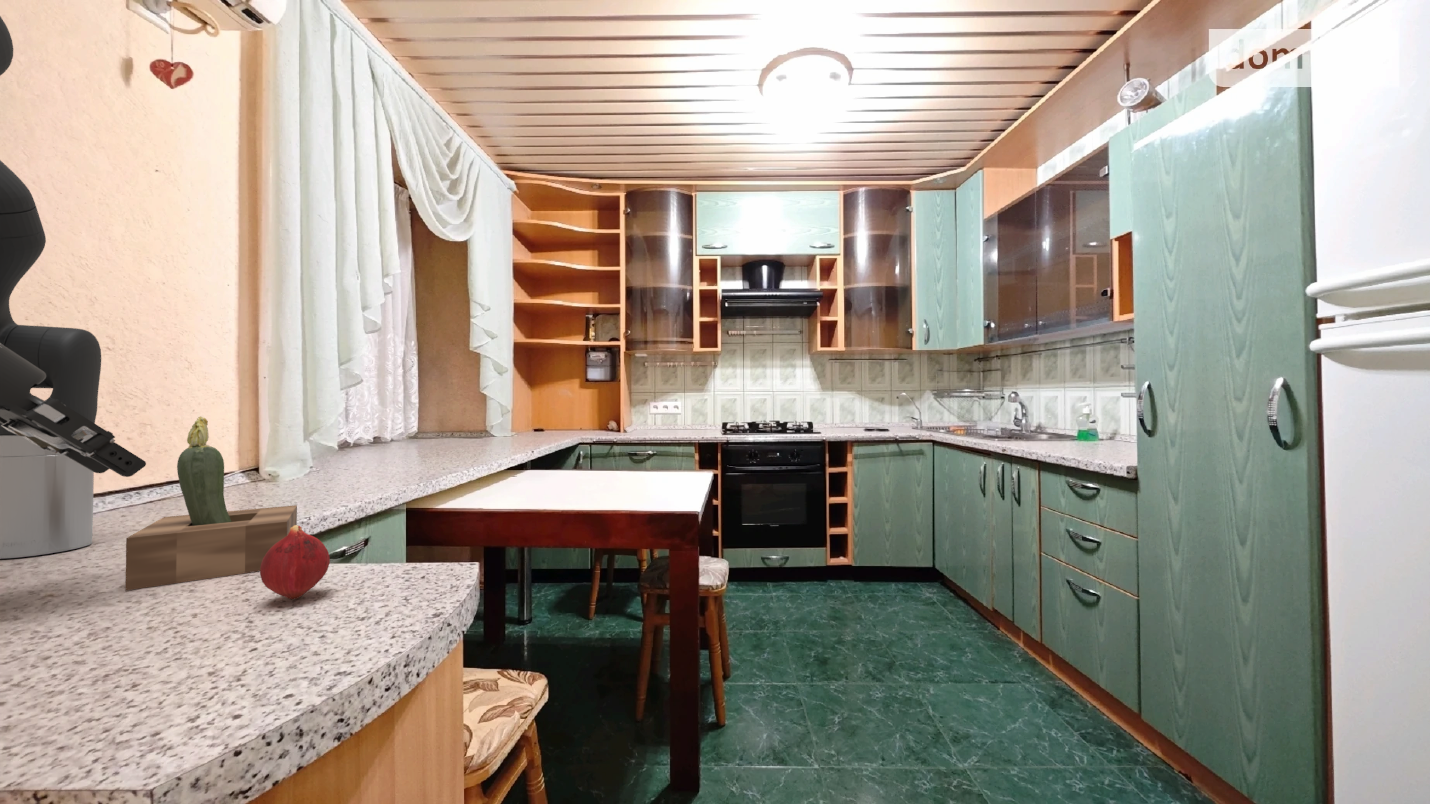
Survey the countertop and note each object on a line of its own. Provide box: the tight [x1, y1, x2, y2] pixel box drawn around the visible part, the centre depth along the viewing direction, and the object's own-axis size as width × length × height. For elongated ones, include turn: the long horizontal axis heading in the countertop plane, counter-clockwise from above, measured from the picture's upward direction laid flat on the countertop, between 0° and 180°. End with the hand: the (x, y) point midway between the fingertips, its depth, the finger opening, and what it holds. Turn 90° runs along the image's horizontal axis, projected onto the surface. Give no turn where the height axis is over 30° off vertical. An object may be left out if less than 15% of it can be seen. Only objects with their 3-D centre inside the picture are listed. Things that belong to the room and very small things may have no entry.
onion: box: [259, 524, 331, 600], centre depth 54 cm, size 6×6×8 cm
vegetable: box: [176, 416, 232, 526], centre depth 65 cm, size 4×4×20 cm
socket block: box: [124, 504, 298, 591], centre depth 66 cm, size 14×14×6 cm
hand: (123, 469), depth 58 cm, fingers open, 8 cm apart
